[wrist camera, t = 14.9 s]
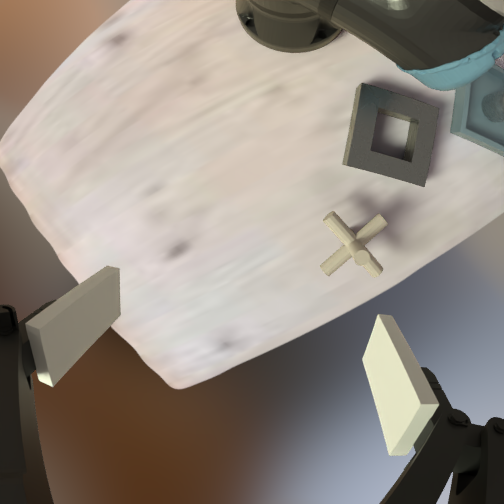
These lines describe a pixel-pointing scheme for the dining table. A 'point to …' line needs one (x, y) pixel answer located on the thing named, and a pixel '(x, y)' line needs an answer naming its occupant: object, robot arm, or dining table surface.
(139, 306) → the dining table surface
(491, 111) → the shiny metal cylinder
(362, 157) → the block
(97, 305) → the robot arm
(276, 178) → the dining table surface
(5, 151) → the dining table surface
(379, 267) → the pipe connector
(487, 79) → the parts tray
